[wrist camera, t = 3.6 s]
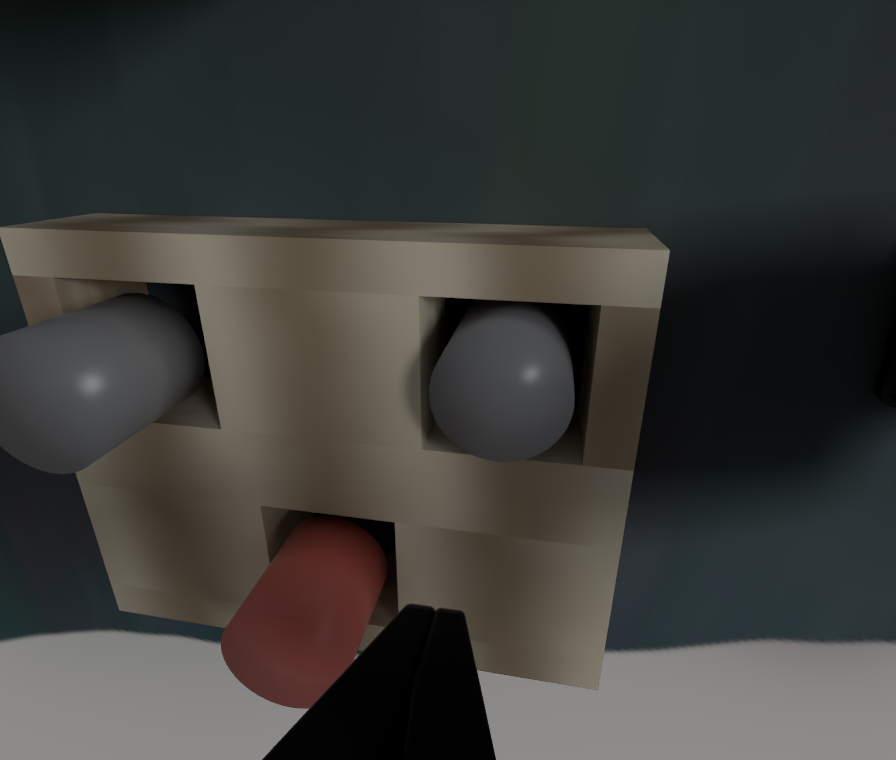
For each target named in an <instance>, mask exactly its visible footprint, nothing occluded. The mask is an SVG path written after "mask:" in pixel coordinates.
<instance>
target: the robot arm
mask: <svg viewBox="0 0 896 760" xmlns="http://www.w3.org/2000/svg"><path fill="white" fill-rule="evenodd" d="M885 348H886V349H887V352H886V355H885V358H884V361H883V364H882V366H881V369H880V372H879V375H878V378H877V381H876V384H875V387H874V393H875V396H876V397H877V398H878V399H879V400H881V401H882V402H883V403H885V404H886V405H887V406H891V407H896V394H893V395H890V391H891V390H892V388H894V387H896V313H895V316H894V319H893V321H892V324H891V327H890V330H889V333H888V336H887V339H886V342H885ZM262 760H496V757H495V753H494V749H493V744H492V739H491V734H490V729H489V725H488V720H487V715H486V710H485V706H484V701H483V696H482V692H481V687H480V682H479V678H478V673H477V668H476V663H475V659H474V654H473V649H472V645H471V640H470V635H469V631H468V626H467V621H466V617H465V614H464V612H463V611H461V610H455V609H448V608H438V609H437V610H436V611H435V609H434V608H433V607H432V606H427V605H420V604H413V603H410V604H407V605H406V606H404V607H403V608H402V610H401V611H400V612H399V613H398V614H397V615H396V616H395V617H394V618H393V619H392V620H391V621H390V622H389V624H388V625H387V626H386V627H385V628H384V629H383V630H382V631H381V632H380V633H379V634H378V635H377V636H376V638H375V639H374V640H373V641H372V642H371V643H370V644H369V645H368V646H367V647H366V648H365V649H364V651H363V652H362V653H361V654H360V655H359V656H358V657H357V658H356V659H355V660H354V661H353V662H352V663H351V665H350V666H349V667H348V668H347V669H346V670H345V671H344V672H343V673H342V674H341V675H340V676H339V677H338V679H337V680H336V681H335V682H334V683H333V684H332V685H331V686H330V687H329V688H328V689H327V690H326V691H325V693H324V694H323V695H322V696H321V697H320V698H319V699H318V700H317V701H316V702H315V703H314V704H313V705H312V707H311V708H310V709H309V710H308V711H307V712H306V713H305V714H304V715H303V716H302V717H301V719H300V720H299V721H298V722H297V723H296V724H295V725H294V726H293V727H292V728H291V729H290V730H289V731H288V732H287V734H286V735H285V736H284V737H283V738H282V739H281V740H280V741H279V742H278V743H277V744H276V745H275V746H274V747H273V749H272V750H271V751H270V752H269V753H268V754H267V755H266V756H265V757H264V758H263V759H262Z"/></svg>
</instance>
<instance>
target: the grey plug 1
mask: <svg viewBox="0 0 896 760" xmlns="http://www.w3.org/2000/svg"><path fill="white" fill-rule="evenodd" d="M203 376H204V354H203V351H202V347H201V344H200V341H199V339H198V337H197V335H196V333H195V331H194V330H193V328H192V327H191V325H190V324H189V323H188V321H187V320H186V319H185V318H184V317H183V316H182V315H181V314H180V313H179V312H178V311H177V310H176V309H175V308H173V307H172V306H171V305H169V304H168V303H166V302H164V301H162V300H161V299H159V298H156V297H154V296H151V295H147V294H143V293H125V294H121V295H118V296H115V297H112V298H110V299H107V300H104V301H101V302H98V303H95V304H92V305H89V306H86V307H83V308H80V309H77V310H74V311H71V312H68V313H65V314H62V315H59V316H56V317H54V318H51V319H48V320H45V321H42V322H39V323H36V324H33V325H30V326H27V327H24V328H21V329H18V330H15V331H12V332H9V333H6V334H3V335H0V446H1V447H2V448H3V449H4V450H5V451H7V452H8V453H9V454H11V455H12V456H13V457H15V458H16V459H18V460H19V461H21V462H23V463H25V464H27V465H29V466H31V467H33V468H36V469H38V470H41V471H44V472H49V473H54V474H71V473H75V472H78V471H81V470H83V469H85V468H86V467H88V466H89V465H91V464H92V463H94V462H95V461H97V460H98V459H100V458H101V457H103V456H104V455H106V454H107V453H108V452H110V451H111V450H113V449H114V448H116V447H117V446H119V445H120V444H122V443H123V442H125V441H126V440H128V439H129V438H130V437H132V436H133V435H135V434H136V433H138V432H139V431H141V430H142V429H144V428H145V427H147V426H148V425H150V424H151V423H152V422H154V421H155V420H157V419H158V418H160V417H161V416H163V415H164V414H166V413H167V412H169V411H170V410H172V409H173V408H175V407H176V406H177V405H179V404H180V403H182V402H183V401H185V400H186V399H188V398H189V397H191V396H192V395H193V394H194V393H195V392H196V391H197V389H198V388H199V386H200V384H201V382H202V379H203Z"/></svg>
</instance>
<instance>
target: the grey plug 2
mask: <svg viewBox="0 0 896 760" xmlns="http://www.w3.org/2000/svg"><path fill="white" fill-rule="evenodd" d="M429 400H430V406H431V410H432V413H433V416H434V418H435V420H436V422H437V424H438V426H439V427H440V429H441V430H442V432H443V433H444V434H445V435H446V436H447V437H448V439H449V440H451V441H452V442H453V443H454V444H455V445H456V446H458V447H459V448H461V449H462V450H464V451H465V452H467V453H469V454H471V455H474V456H476V457H479V458H482V459H486V460H490V461H496V462H514V461H520V460H525V459H528V458H531V457H534V456H536V455H538V454H541V453H542V452H544V451H546V450H547V449H549V448H550V447H551V446H552V445H554V444H555V443H556V442H557V441H558V440H559V439H560V438H561V436H562V435H563V433H564V432H565V431H566V429H567V427H568V425H569V423H570V421H571V418H572V415H573V410H574V401H575V394H574V379H573V364H572V349H571V337H570V332H569V328H568V325H567V323H566V320H565V319H564V317H563V315H562V314H561V312H560V311H559V310H558V309H557V308H556V307H555V306H554V305H553V304H552V303H544V302H525V301H505V300H486V299H478V300H477V301H476V302H475V303H473V304H472V305H471V306H470V308H469V309H468V310H467V311H466V313H465V314H464V316H463V317H462V319H461V321H460V323H459V325H458V326H457V328H456V330H455V332H454V333H453V335H452V337H451V339H450V341H449V342H448V344H447V346H446V348H445V350H444V351H443V353H442V355H441V357H440V359H439V360H438V362H437V364H436V366H435V368H434V370H433V373H432V376H431V380H430V385H429Z"/></svg>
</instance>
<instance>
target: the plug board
mask: <svg viewBox="0 0 896 760" xmlns="http://www.w3.org/2000/svg"><path fill="white" fill-rule="evenodd" d="M0 237H1V240H2V243H3V247H4V250H5V253H6V256H7V259H8V262H9V265H10V268H11V272H12V275H13V278H14V281H15V284H16V287H17V290H18V294H19V297H20V300H21V303H22V306H23V309H24V312H25V316H26V319H27V322H28V325H29V326H30V325H33V324H36V323H39V322H42V321H45V320H48V319H51V318H54V317H56V316H59V315H62V314H65V313H68V312H71V311H74V310H77V309H80V308H83V307H86V306H89V305H92V304H95V303H98V302H101V301H104V300H107V299H110V298H112V297H115V296H118V295H121V294H125V293H143V294H147V295H149V293H148V289H147V284H146V282H154V283H174V284H193V285H194V286H195V291H196V297H197V302H198V308H199V313H200V318H201V324H202V329H203V334H204V340H205V345H206V351H207V356H208V361H209V367H210V372H211V378H208V377H203V379H202V382H201V384H200V386H199V388H198V389H197V391H196V392H195V393H194V394H193V395H192V396H191V397H189V398H188V399H186V400H185V401H183V402H182V403H180V404H179V405H177V406H176V407H175V408H173V409H172V410H170V411H169V412H167V413H166V414H164V415H163V416H161V417H160V418H158V419H157V420H155V421H154V422H152V423H151V424H150V425H148V426H147V427H145V428H144V429H142V430H141V431H139V432H138V433H136V434H135V435H133V436H132V437H130V438H129V439H128V440H126V441H125V442H123V443H122V444H120V445H119V446H117V447H116V448H114V449H113V450H111V451H110V452H108V453H107V454H106V455H104V456H103V457H101V458H100V459H98V460H97V461H95V462H94V463H92V464H91V465H89V466H88V467H86V468H85V469H83V470H81V471H78V472H76V476H77V479H78V482H79V485H80V488H81V491H82V494H83V498H84V501H85V504H86V507H87V510H88V513H89V516H90V520H91V523H92V526H93V529H94V532H95V535H96V538H97V542H98V545H99V548H100V551H101V554H102V557H103V560H104V564H105V567H106V570H107V573H108V576H109V579H110V582H111V585H112V589H113V592H114V595H115V598H116V601H117V604H118V607H119V610H120V611H126V612H132V613H138V614H144V615H150V616H156V617H162V618H168V619H174V620H180V621H186V622H192V623H198V624H204V625H210V626H216V627H222V628H226V627H227V625H228V624H229V622H230V621H231V619H232V618H233V616H234V615H235V613H236V612H237V611H238V609H239V608H240V606H241V605H242V603H243V602H244V600H245V599H246V598H247V596H248V595H249V593H250V592H251V590H252V589H253V587H254V586H255V585H256V583H257V582H258V580H259V579H260V577H261V576H262V574H263V573H264V571H265V570H266V569H267V567H268V566H269V564H270V563H271V561H272V560H273V558H274V557H275V556H276V554H277V553H278V551H279V550H280V548H281V547H282V545H283V544H284V543H285V541H286V540H287V538H288V537H289V535H290V534H291V532H292V531H293V530H294V528H295V527H296V526H297V525H299V524H300V523H301V522H303V521H305V520H307V519H310V518H314V517H315V515H314V512H315V513H323V514H331V515H339V516H347V517H355V518H363V519H371V520H379V521H387V522H395V541H396V553H389V552H384V554H385V556H386V560H387V565H388V573H387V578H386V580H385V583H384V585H383V588H382V590H381V593H380V595H379V598H378V600H377V603H376V605H375V608H374V610H373V613H372V616H371V618H370V621H369V623H368V626H367V628H366V631H365V633H364V636H363V638H362V641H361V643H360V646H359V648H358V650H360V651H364V649H365V648H366V647H367V646H368V645H369V644H370V643H371V642H372V641H373V640H374V639H375V638H376V636H377V635H378V634H379V633H380V632H381V631H382V630H383V629H384V628H385V627H386V626H387V625H388V624H389V622H390V621H391V620H392V619H393V618H394V617H395V616H396V615H397V614H398V613H399V612H400V611H401V610H402V608H403V607H404V606H406V605H407V604H410V603H413V604H420V605H427V606H432V607H433V608H434V609H435V611H436V610H437V609H438V608H448V609H455V610H461V611H463V612H464V614H465V617H466V621H467V626H468V631H469V635H470V640H471V645H472V649H473V654H474V659H475V663H476V668H477V670H480V671H486V672H492V673H498V674H504V675H510V676H516V677H521V678H528V679H533V680H540V681H545V682H551V683H557V684H564V685H569V686H576V687H582V688H587V689H593V690H598V686H599V679H600V673H601V667H602V661H603V655H604V649H605V643H606V637H607V631H608V625H609V619H610V613H611V607H612V600H613V594H614V588H615V582H616V576H617V570H618V564H619V558H620V552H621V546H622V540H623V534H624V528H625V521H626V515H627V509H628V503H629V497H630V491H631V485H632V479H633V473H634V467H635V461H636V455H637V448H638V442H639V436H640V430H641V424H642V418H643V412H644V406H645V400H646V394H647V388H648V382H649V375H650V369H651V363H652V357H653V351H654V345H655V339H656V333H657V327H658V321H659V315H660V309H661V302H662V296H663V290H664V284H665V278H666V272H667V266H668V260H669V254H670V250H669V249H668V248H667V247H666V246H665V245H664V244H663V243H662V242H660V241H659V240H658V239H657V238H656V237H655V236H654V235H653V234H652V233H651V232H650V231H649V230H648V229H645V228H609V227H573V226H537V225H501V224H465V223H429V222H393V221H357V220H321V219H285V218H249V217H213V216H177V215H141V214H105V213H94V214H87V215H80V216H74V217H67V218H60V219H53V220H46V221H39V222H32V223H25V224H18V225H12V226H5V227H0ZM445 297H447V298H466V299H486V300H505V301H525V302H544V303H564V304H583V305H589V312H588V321H587V331H586V340H585V349H584V358H583V367H582V376H581V385H580V394H579V403H578V408H574V410H573V415H572V418H571V421H570V423H569V425H568V427H567V429H566V431H565V432H564V433H563V435H562V436H561V438H560V439H559V440H558V441H557V442H556V443H555V444H554V445H552V446H551V447H550V448H549V449H547V450H546V451H544V452H542V453H541V454H538V455H536V456H534V457H531V458H528V459H525V460H520V461H514V462H496V461H490V460H486V459H482V458H479V457H476V456H474V455H471V454H469V453H467V452H465V451H464V450H462V449H461V448H459V447H458V446H456V445H455V444H454V443H453V442H452V441H451V440H449V439H448V437H447V436H446V435H445V434H444V433H443V432H442V430H441V429H440V427H439V426H438V424H437V422H436V420H435V418H434V416H433V413H432V410H431V406H430V400H429V385H430V380H431V376H432V373H433V370H434V368H435V366H436V364H437V362H438V360H439V359H440V357H441V355H442V353H443V351H444V350H445Z"/></svg>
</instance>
